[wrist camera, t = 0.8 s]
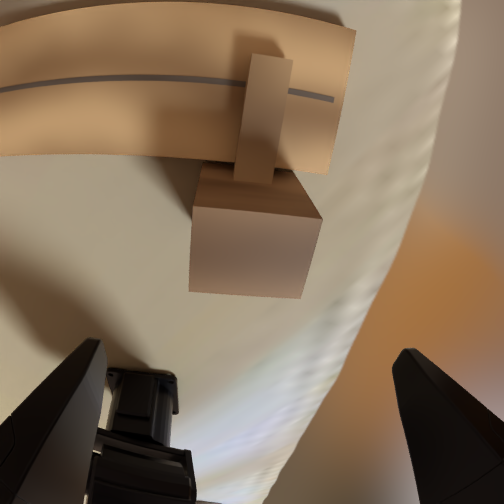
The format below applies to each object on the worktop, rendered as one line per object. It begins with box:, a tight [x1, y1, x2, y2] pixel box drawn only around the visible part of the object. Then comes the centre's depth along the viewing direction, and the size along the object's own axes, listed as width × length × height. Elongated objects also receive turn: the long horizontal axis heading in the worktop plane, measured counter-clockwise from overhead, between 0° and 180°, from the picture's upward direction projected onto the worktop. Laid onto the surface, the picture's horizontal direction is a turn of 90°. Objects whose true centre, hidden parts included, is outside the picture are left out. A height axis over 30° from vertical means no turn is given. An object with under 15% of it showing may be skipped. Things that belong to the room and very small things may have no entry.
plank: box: [0, 2, 356, 175], centre depth 13 cm, size 8×20×1 cm, turn 82°
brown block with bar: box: [189, 53, 323, 299], centre depth 14 cm, size 10×5×6 cm, turn 172°
